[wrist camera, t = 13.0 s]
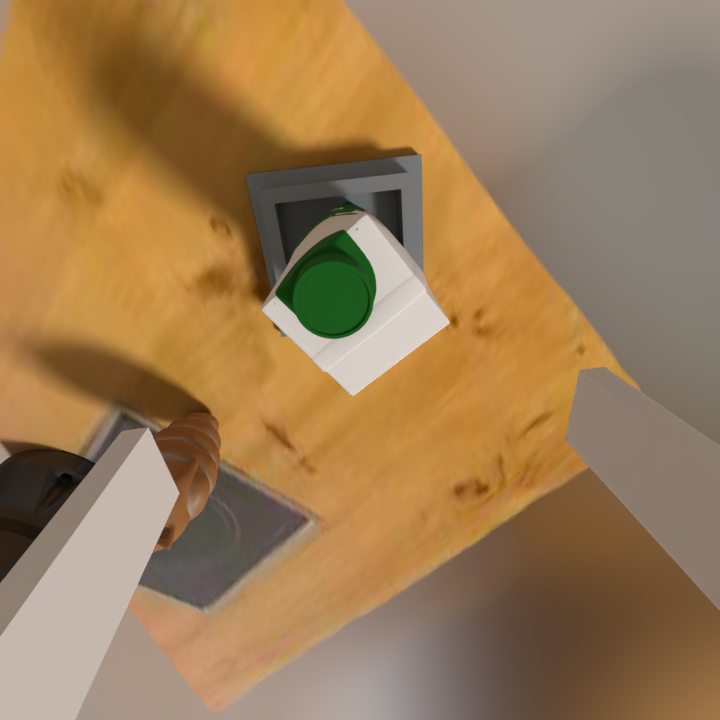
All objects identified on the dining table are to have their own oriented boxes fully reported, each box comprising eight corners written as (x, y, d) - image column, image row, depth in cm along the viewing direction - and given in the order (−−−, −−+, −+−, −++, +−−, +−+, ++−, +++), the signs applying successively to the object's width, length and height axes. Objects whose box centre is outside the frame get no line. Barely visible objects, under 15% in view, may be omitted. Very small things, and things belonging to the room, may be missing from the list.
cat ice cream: (236, 392, 43) (183, 518, 27) (241, 442, 47) (196, 580, 31) (160, 390, 42) (59, 519, 27) (171, 441, 46) (88, 583, 30)
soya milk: (349, 185, 33) (372, 196, 15) (406, 260, 37) (479, 339, 19) (282, 249, 35) (234, 324, 17) (342, 314, 39) (354, 430, 21)
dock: (282, 333, 40) (277, 348, 37) (247, 174, 33) (237, 174, 29) (422, 315, 41) (431, 329, 37) (418, 154, 33) (429, 152, 30)
